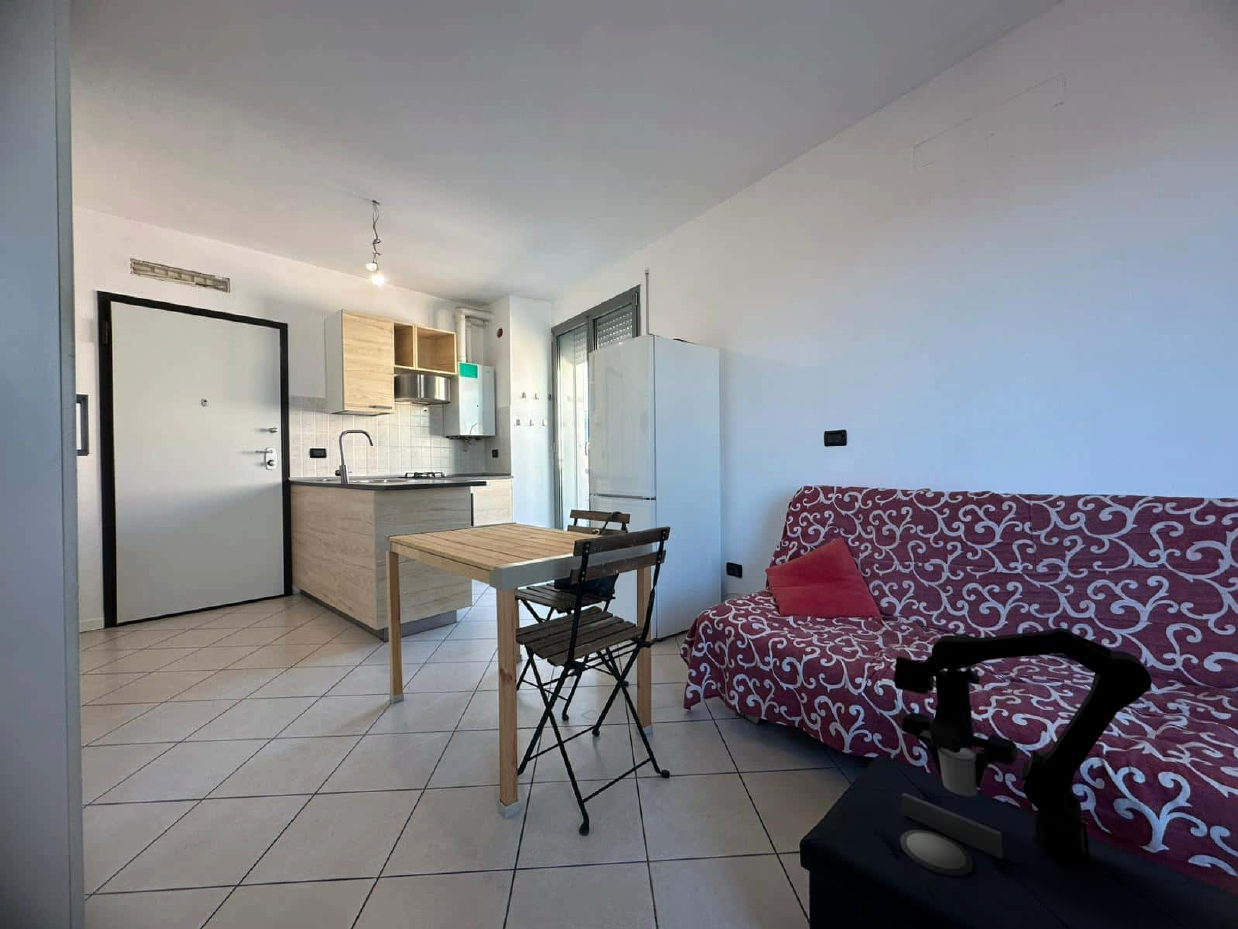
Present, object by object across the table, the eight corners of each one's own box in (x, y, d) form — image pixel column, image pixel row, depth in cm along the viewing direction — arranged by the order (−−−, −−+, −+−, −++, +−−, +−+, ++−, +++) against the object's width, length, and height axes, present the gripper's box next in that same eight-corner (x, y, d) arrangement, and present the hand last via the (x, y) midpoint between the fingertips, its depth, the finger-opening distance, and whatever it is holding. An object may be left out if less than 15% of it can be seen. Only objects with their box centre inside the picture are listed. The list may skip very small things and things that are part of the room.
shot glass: (942, 792, 95) (939, 756, 95) (937, 775, 101) (935, 741, 101) (984, 802, 91) (981, 764, 92) (977, 784, 97) (974, 748, 98)
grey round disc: (949, 833, 91) (948, 831, 91) (988, 878, 80) (988, 874, 80) (889, 831, 92) (889, 828, 92) (920, 874, 81) (920, 871, 81)
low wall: (902, 815, 96) (901, 795, 97) (905, 813, 97) (903, 792, 98) (1001, 859, 84) (999, 835, 85) (1003, 856, 85) (1001, 832, 85)
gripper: (889, 697, 100) (894, 775, 98) (1000, 727, 85) (1008, 819, 84) (909, 684, 107) (913, 757, 105) (1014, 710, 93) (1021, 795, 91)
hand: (959, 780), depth 96 cm, fingers closed on shot glass, 6 cm apart
